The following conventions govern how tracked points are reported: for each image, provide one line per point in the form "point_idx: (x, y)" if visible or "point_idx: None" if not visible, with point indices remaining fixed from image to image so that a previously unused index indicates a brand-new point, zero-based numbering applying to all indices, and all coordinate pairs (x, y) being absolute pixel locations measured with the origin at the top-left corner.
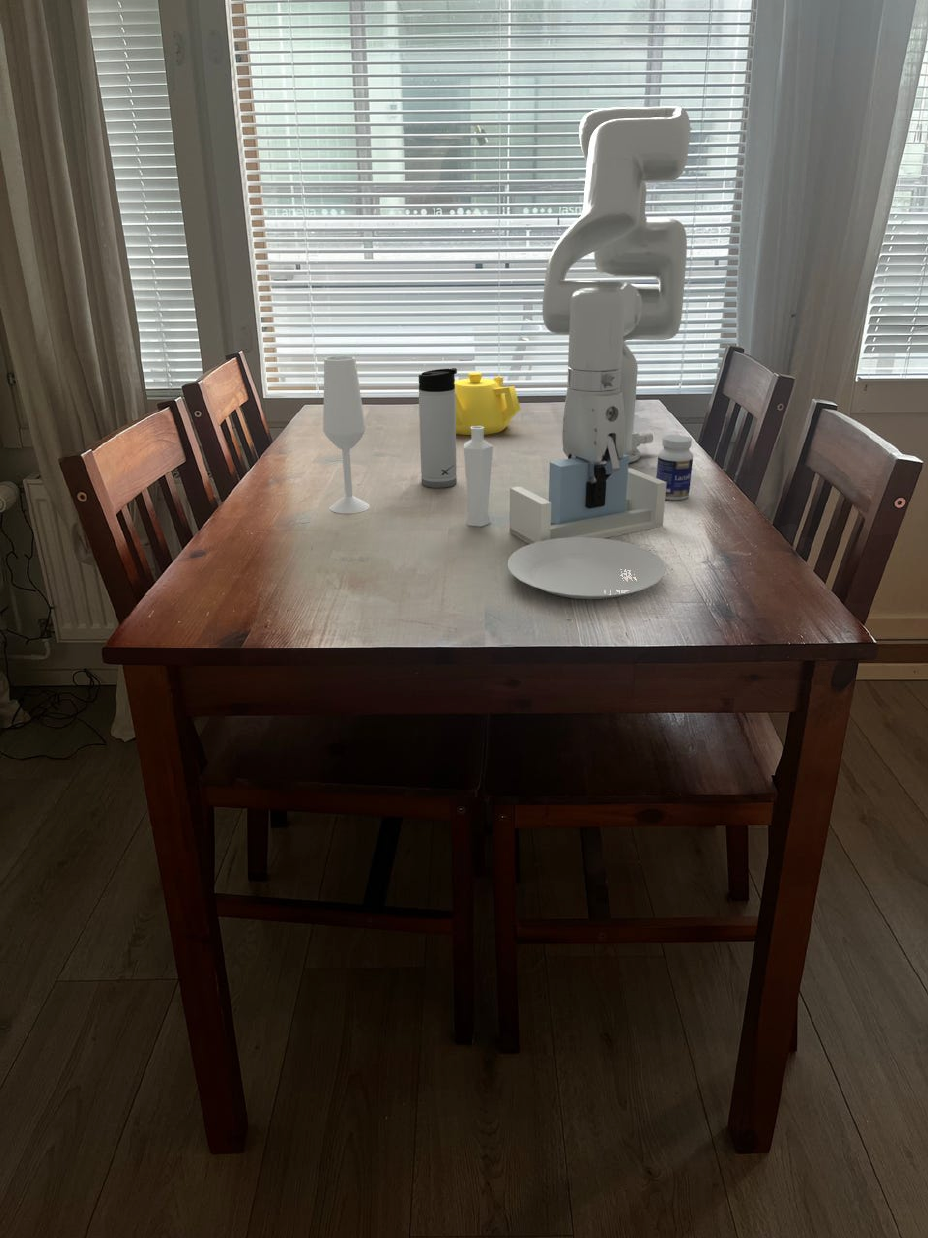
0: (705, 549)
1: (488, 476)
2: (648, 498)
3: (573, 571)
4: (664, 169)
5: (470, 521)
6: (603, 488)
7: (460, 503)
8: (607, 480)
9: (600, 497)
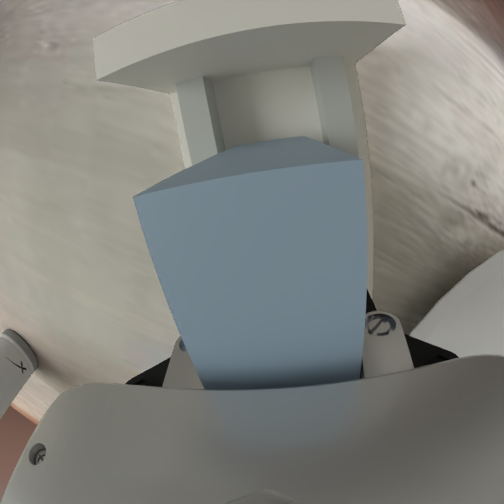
0: (500, 73)
1: None
2: (324, 47)
3: (459, 353)
4: None
5: None
6: (375, 309)
7: (90, 372)
8: (388, 316)
9: None
